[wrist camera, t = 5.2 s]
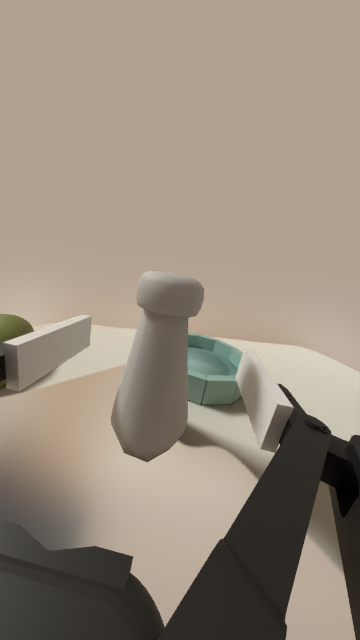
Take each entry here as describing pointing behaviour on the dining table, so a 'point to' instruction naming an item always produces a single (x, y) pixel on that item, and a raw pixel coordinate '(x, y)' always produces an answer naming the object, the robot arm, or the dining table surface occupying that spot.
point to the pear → (12, 330)
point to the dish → (212, 370)
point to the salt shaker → (157, 367)
